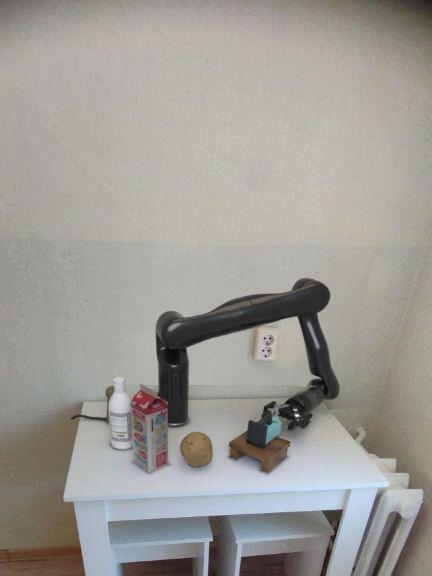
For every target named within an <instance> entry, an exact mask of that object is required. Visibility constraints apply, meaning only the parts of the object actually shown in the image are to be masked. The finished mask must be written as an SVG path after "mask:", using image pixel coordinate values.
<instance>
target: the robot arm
mask: <svg viewBox="0 0 432 576" xmlns="http://www.w3.org/2000/svg"><path fill="white" fill-rule="evenodd" d="M330 301H331V291H330V289H329V287H328V286H327V284H325V283H324V282H322V281H320V280H317V279H314V278H310V277H301V278H299V279H298V280H296V281H295V283H293V286H292V287H291V290H289V291H284V292H276V293H275V292H272V293H271V292H270V293H253V294H247V295H243V296H239V297H235V298H232V299H229V300H227V301H225V302H223V303H222V304H220V305H217V307H215V308H213V309H212V310H209V311H208V312H204V313H202V314H197V315H193V316H184V315H183V314H182V313H181V312H179V311H176V310H167V311H164V312H162V313H161V314H160V315H159V317H158V318H157V320H156V323H155V353H156V360H157V381H158V390H157V392H158V397H160V398H162V399H164V400H166V401H167V402H168V427H174V428H175V427H181V426H185V425H186V424H187V423H188V422H189V393H190V392H189V391H190V390H189V389H190V387H189V386H190V385H189V384H190V359H189V355H188V348H190V347H193V346H195V345H197V344H200V343H202V342H206V341H208V340H211V339H216V338H219V337H225V336H229V335H231V334H237V333H241V332H245V331H249V330H252V329H256V328H259V327H262V326H265V325H269V324H273V323H276V322H279V321H282V320H285V319H291V318H296V317H297V320H298V324H299V327H300V330H301V334H302V338H303V343H304V347H305V353H306V357H307V365H308V370H309V374H311V375H312V376H315V377H316V378H315V377H314V378H311V379H310V380H309V381H308V383H307V385H306V387H305V388H304V389H303V390H300V391H298V392H297V393H295V394H294V395H292V396H290V397H289V398H287V400H285V402H284V403H282V404H277V401H275V400H273V401H271V402H269V403H267V404H264V405H263V408H262V413H261V418H260V419H262V418H263V417H265V416H266V415H268V414H270V415H272V417H278V418H279V419H281V418H282V419H286V420H287V421H290V422H288V423H287V428H286V430H287V431H289V432H291V431H294V430H295V429H296V428H299V427H300V428H301V429H302V430H303V429H306V428H308V426H309V425H310V424H311V423H312V422H313V415H314V414H313V411H314V410H315V409H316V408H318V407H319V406H320V405H321V404H322V403H323V401H326V400H327V401H333V400H336V399H338V397H339V395H340V391H341V388H340V383H339V380H338V377H337V376H336V373H335V371H334V369H333V367H332V363H331V356H330V350H329V345H328V342H327V340H326V337H325V334H324V332H323V329H322V326H321V324H320V323H321V322H320V320H319V315H318V314H319V313H320V312H323V311H324V310H325V309H326V308H327V306H328V305H329V303H330ZM272 412H273V413H272ZM76 418H85V419H87V420H100V421H107V417H100V416H89V415H86V414H74V415H73V416H71V418H70V420H72V421H73V420H75V419H76Z"/></svg>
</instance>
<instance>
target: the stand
mask: <svg viewBox="0 0 432 576" xmlns="http://www.w3.org/2000/svg"><path fill="white" fill-rule="evenodd" d="M246 440H247V430H245V431H244V432H243V433H241V434H240V435H238V436H237V437H235V438H233V439H232V440H231V441H229V442H228V448H230V451H229V458H231V459H233V460H237V459H239V458H240V457H242V456H243V455H247V456H250V457H252V458H255V459H256V460H259V461H261V469H260V471H261V472H263V473H265V474H269V472H270V471H271V470H273V469H274V468H275V467H276V466H278V465H279V464H280V463H281V462H283V461H284V460H285V459H286V458H287V457H288V451H289V448H290V447H291V441H290V440H288V439H285V438H283V437H281V436H280V437H279V438H278V439H276V440H275V441H274V442H272V443H271V444H270V445H268V446H267V447H266V448H265V449H261V448H258V447H256V446H253V445H251V444H248V443H246Z"/></svg>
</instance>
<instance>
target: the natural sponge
mask: <svg viewBox="0 0 432 576" xmlns="http://www.w3.org/2000/svg"><path fill="white" fill-rule="evenodd" d="M213 449H214V448H213V444H212V440H211V438H210V437H209V435H207V434H206V433H203V432H202V431H201V432H200V431H193V432H190V433H188V434H187V435H185V436H184V437H183V438H182V440H181V442H180V444H179V452H180V454H181V456H182V458H183V460H184V461H185V462H186V463H187V464H188V465H189V466H191V467H193V468H200V467H203V466H208V465H210V464H211V463H212V461H213V457H214V452H213V451H214V450H213Z"/></svg>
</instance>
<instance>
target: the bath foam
mask: <svg viewBox="0 0 432 576" xmlns="http://www.w3.org/2000/svg"><path fill="white" fill-rule="evenodd" d="M125 381H126V380H125V377H122V376H116V377H114V378H113V386H114V393H113V394H112V396H111V398H110V400H109V404H108V412H109V423H110V424H109V423H108V424H109V433H110V435H109V436H110V443H111V446H112V447H113V448H114V449H116V450H117V449H118V450H127V449H131V448H133V440H132V421H131V403H130V399H131V398H132V397H131V396H130V395H129V393H128V392H127V391H126V382H125Z"/></svg>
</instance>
